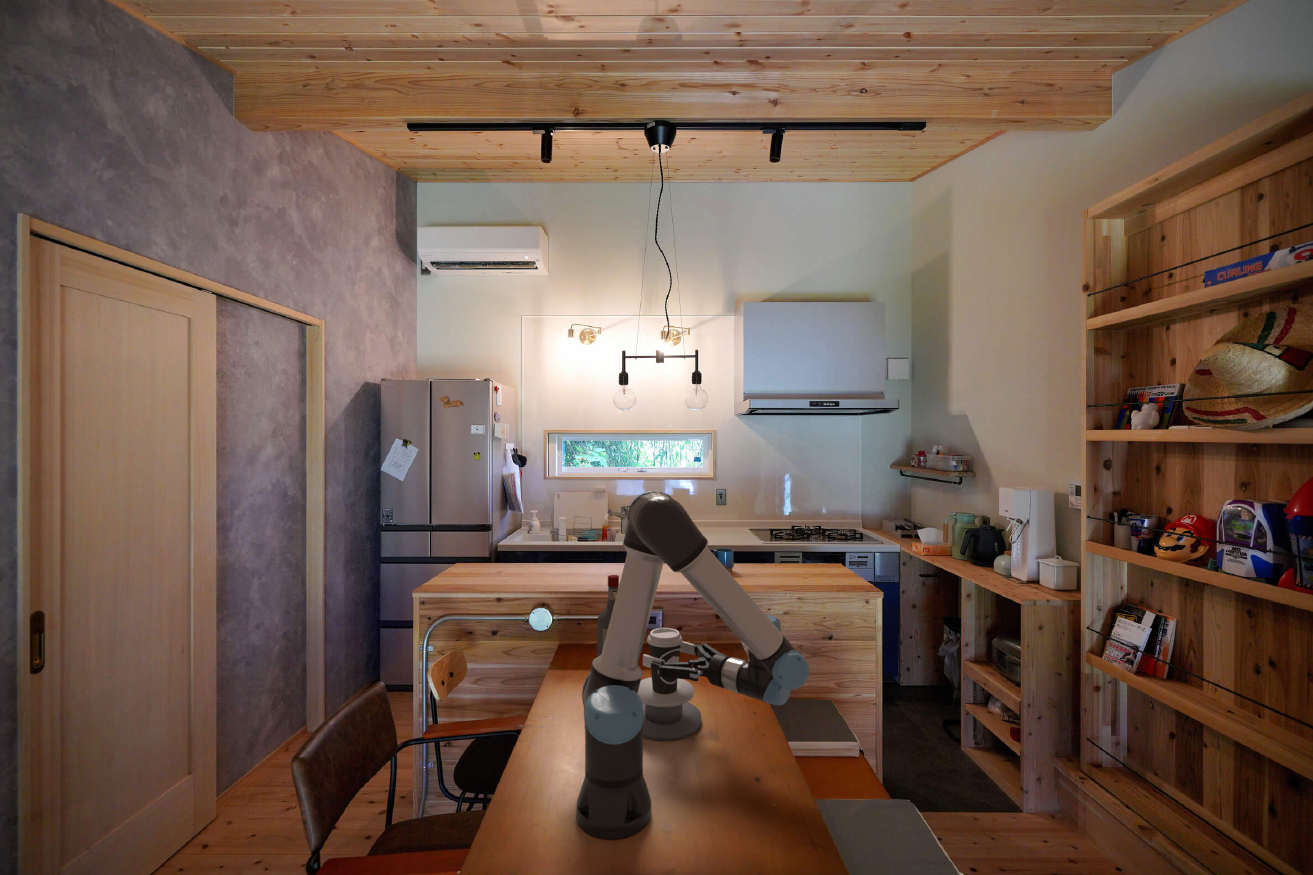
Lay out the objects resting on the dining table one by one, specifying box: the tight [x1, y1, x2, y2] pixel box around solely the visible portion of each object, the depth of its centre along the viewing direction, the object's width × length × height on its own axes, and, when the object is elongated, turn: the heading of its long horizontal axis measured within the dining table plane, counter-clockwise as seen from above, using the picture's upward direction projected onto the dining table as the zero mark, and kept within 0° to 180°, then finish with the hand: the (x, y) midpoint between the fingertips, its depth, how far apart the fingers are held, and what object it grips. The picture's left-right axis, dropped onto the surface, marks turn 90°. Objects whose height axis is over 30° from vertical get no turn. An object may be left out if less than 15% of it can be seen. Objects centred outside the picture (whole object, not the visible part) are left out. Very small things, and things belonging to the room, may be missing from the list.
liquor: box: [596, 574, 620, 658], centre depth 185 cm, size 9×9×30 cm
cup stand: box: [638, 676, 702, 742], centre depth 151 cm, size 20×20×8 cm
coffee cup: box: [646, 627, 684, 694], centre depth 151 cm, size 10×10×15 cm
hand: (659, 651), depth 152 cm, fingers open, 13 cm apart
